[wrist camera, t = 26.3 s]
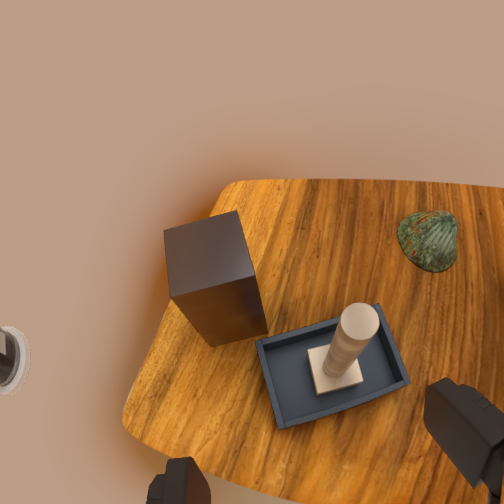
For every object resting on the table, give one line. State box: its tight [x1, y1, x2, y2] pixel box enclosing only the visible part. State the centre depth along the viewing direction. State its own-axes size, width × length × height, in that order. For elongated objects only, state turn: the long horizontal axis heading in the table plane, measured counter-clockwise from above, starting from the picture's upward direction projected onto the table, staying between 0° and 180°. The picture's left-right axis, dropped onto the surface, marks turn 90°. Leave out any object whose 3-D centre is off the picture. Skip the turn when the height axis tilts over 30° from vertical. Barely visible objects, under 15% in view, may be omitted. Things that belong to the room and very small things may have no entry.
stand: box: [164, 210, 268, 347], centre depth 32 cm, size 7×7×14 cm
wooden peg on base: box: [306, 303, 379, 397], centre depth 26 cm, size 5×5×16 cm
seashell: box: [397, 211, 458, 272], centre depth 39 cm, size 10×4×10 cm
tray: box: [255, 303, 411, 430], centre depth 32 cm, size 14×10×3 cm
